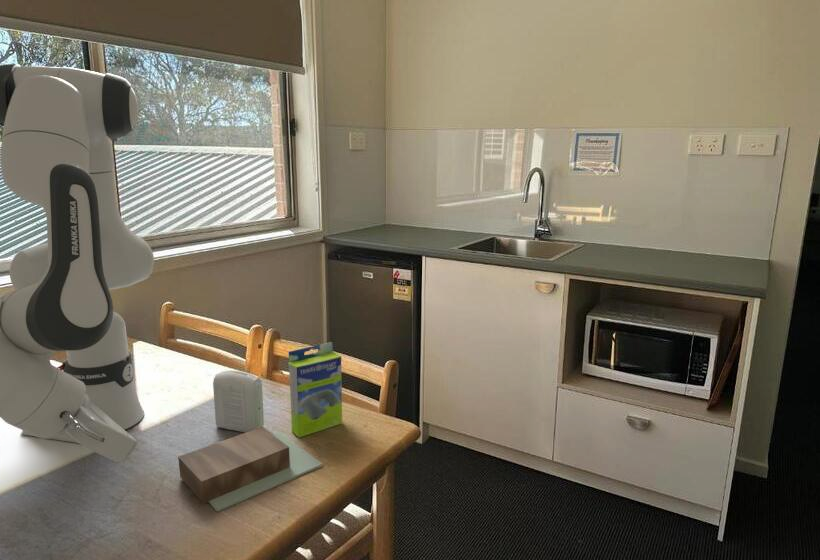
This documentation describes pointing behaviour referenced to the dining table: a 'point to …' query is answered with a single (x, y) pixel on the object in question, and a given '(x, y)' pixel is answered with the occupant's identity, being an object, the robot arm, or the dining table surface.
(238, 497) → the mat
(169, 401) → the dining table surface
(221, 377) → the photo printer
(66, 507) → the dining table surface
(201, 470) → the walnut block
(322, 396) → the box
